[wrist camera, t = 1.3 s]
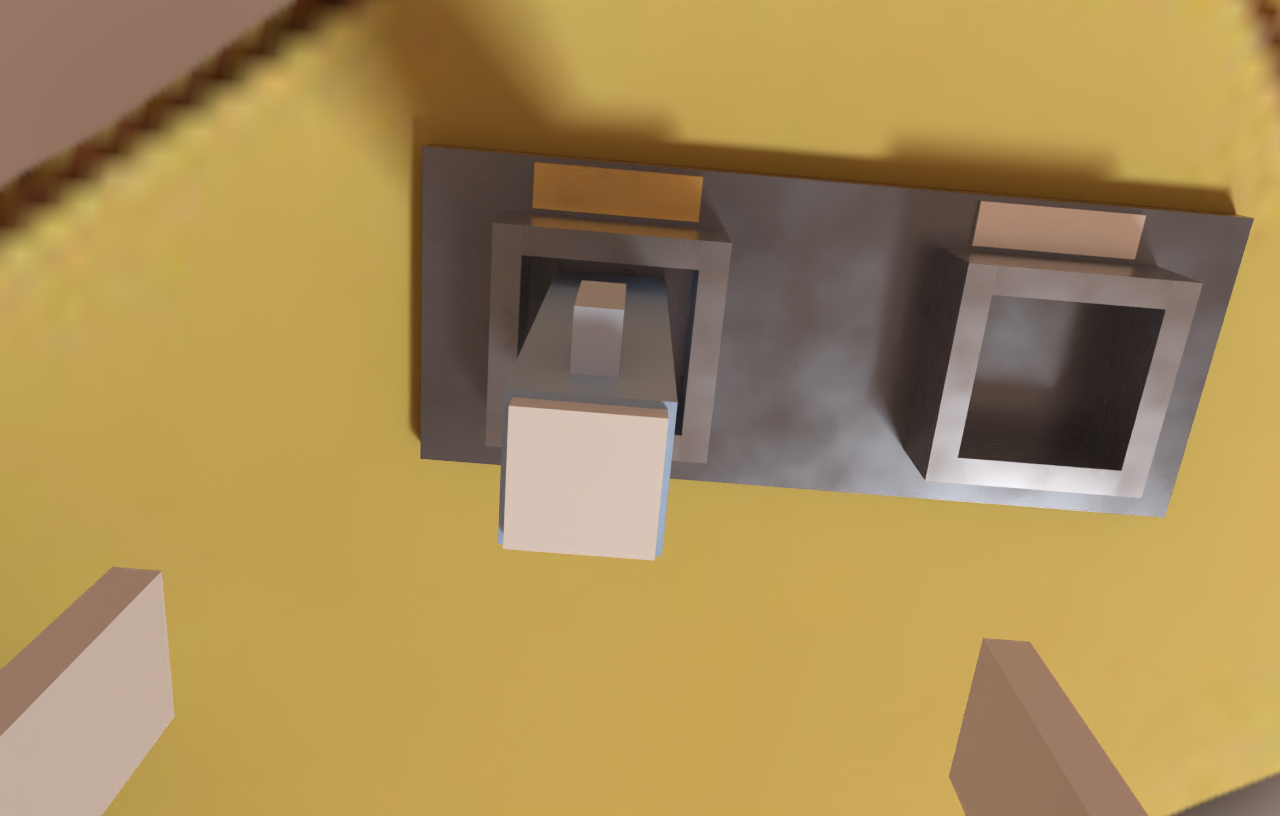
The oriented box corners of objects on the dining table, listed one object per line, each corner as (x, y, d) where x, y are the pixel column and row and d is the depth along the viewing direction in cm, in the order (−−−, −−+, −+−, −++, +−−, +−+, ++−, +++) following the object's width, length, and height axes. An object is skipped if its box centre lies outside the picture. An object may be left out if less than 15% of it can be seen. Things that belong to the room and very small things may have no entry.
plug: (551, 372, 36) (494, 555, 22) (559, 223, 34) (502, 322, 20) (655, 381, 36) (662, 568, 22) (669, 232, 34) (686, 337, 21)
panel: (426, 449, 38) (402, 489, 34) (428, 144, 34) (402, 152, 31) (1152, 506, 39) (1206, 552, 35) (1237, 214, 35) (1308, 231, 31)
